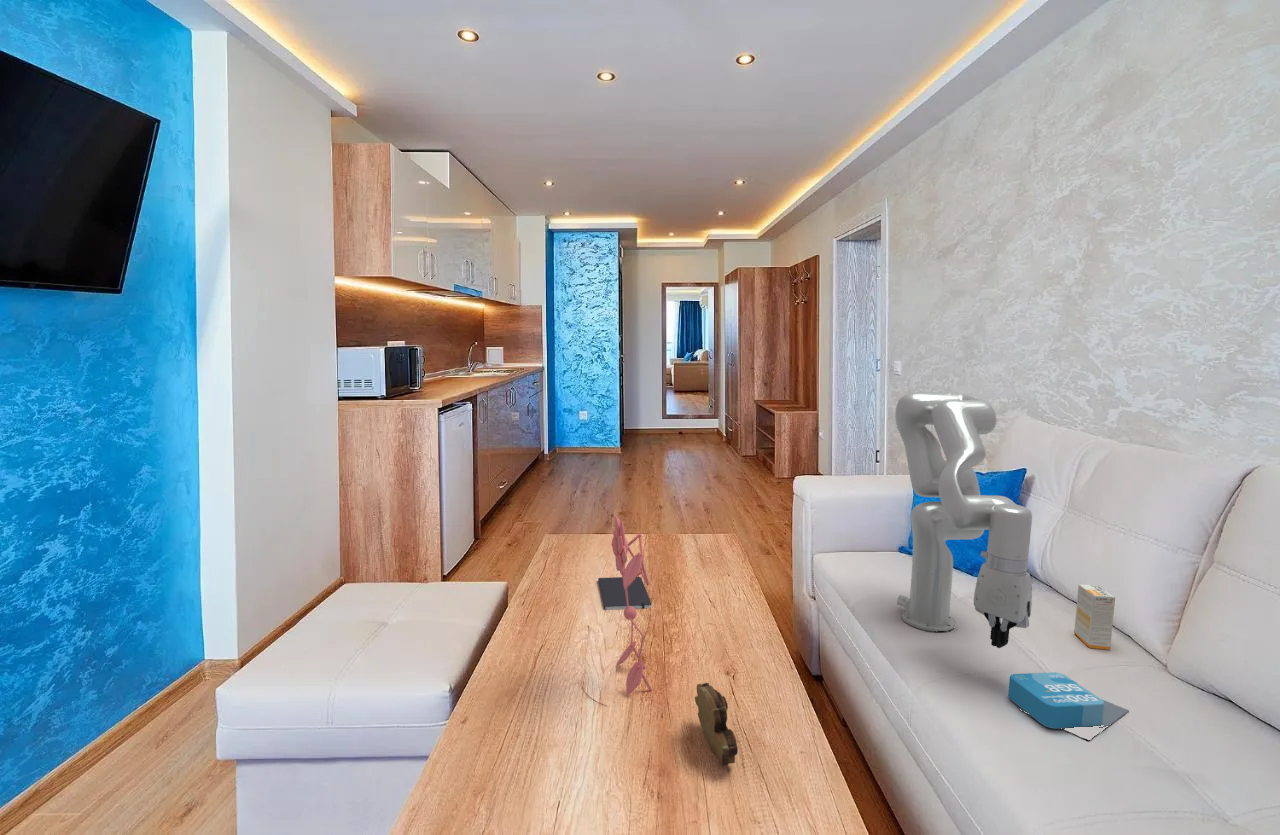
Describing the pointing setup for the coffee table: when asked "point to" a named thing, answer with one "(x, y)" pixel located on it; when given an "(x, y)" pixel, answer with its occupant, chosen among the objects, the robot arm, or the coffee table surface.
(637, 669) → the pink leafy sprig
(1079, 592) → the supplement box
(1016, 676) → the data package
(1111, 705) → the mat
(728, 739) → the wooden carving
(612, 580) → the notebook
